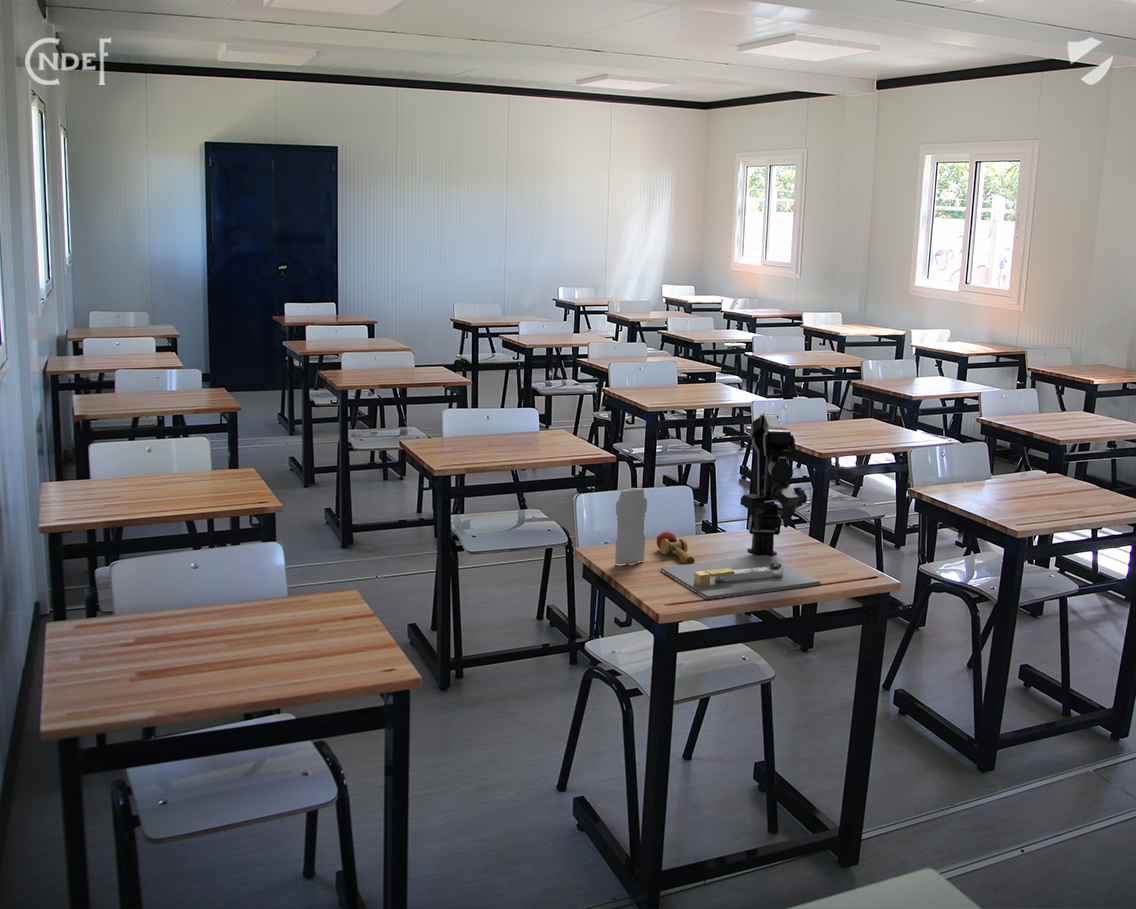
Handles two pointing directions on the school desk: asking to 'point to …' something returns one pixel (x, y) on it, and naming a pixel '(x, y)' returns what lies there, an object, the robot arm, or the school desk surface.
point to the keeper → (704, 577)
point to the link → (751, 574)
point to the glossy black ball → (775, 565)
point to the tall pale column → (630, 526)
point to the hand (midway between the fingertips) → (772, 528)
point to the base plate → (742, 587)
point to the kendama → (674, 546)
